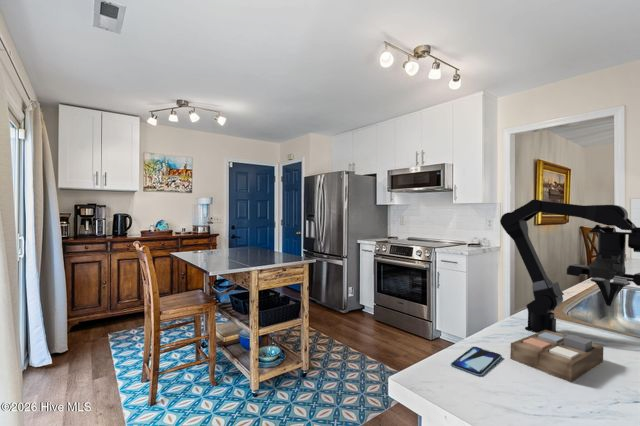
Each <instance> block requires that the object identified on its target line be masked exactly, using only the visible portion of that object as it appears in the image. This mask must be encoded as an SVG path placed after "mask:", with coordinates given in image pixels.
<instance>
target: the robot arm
mask: <svg viewBox="0 0 640 426" xmlns="http://www.w3.org/2000/svg"><path fill="white" fill-rule="evenodd" d="M540 213H545V214H553V215H558V216H559V215H560V216H565V217H566V216H567V217H573V218H581V219H584V220H588V221H591V222H594V223H597V224H595V226H593V227H592V228H591V229H589V233H594V234H597V235H598V237H597V252H596V253H595V259H594V260H592V261H591V262H590V264H589V265H585V264H577V263H576V264H569V265H568V266H567V267H566V275H568V276H574V277H575V276H576V277H580V276H582V275H587V276H589V277H591V278H590V281H591V282H593V283H595V284H596V285H597V287H598V288H599V290H600V292H601V295H602V297H603V300H604V302H605V305H606V306H607V307H612V306H613V304H614V303H615V300H616V299H617V297H618V295H619V294H620V292H621V290H623V288H624V287H627V286H630V285H631V282H632V283H633V284H635V285H636V286H637V287H638V286H639V287H640V272H637V273H634V274H631V273H630V274H629V273H626V272H627V271H626V258H627V254H626V244H627V246H628V248H630V249H633V252H634V253H640V227H638V226H636V225H635V223H633V222H632V220H630V218H629V213H628V210H627V209H626V208H625V207H623V206H622V205H616V204H592V205H581V204H572V203H565V202H564V203H563V202H562V203H561V202H554V201H546V200H542V199H531V200H529V202H527V203H525V204H524V205H522V206H520V207H518V208H515V209H514V210H512V211H511V212H510V211H509V212H505V213H503V214H502V215H501V217H500V219H499V222H500V225H501V227H502V228H503V230H504V231H505V233H506V234H507V235H508V236H509V237H510V238H511V239H512V240H513V242H514V244H515V247H516V249H517V251H518V253H519V255H520V257H521V259H522V261H523V264H524V266H525V268H526V271H527V273H528V275H529V278H530V280H531V283H532V293H533V298H534V300H532V301H530V302H529V303H527V304H526V309H527V326H525V327H524V329H525V330H528V331H532V332H534V333H538V332H541V331H544V330H548V331H552V332H555V333H557V319H556V318H555V315H556V314H555V312H553V311H555V310H556V308H558V307H560V306H561V305H562V303H563V302H564V298H563V297H564V295H565V293H564V292H563V291H562V290H561V287H560V284H559V282H558V281H555V282H554V283H553V282H552V280H551V279H550V278H549V277H548V275H547V273H546V271H545V269H544V266H543V264H542V262H541V261H540V257H539V256H538V254H537V251H536V249H535V246H533V243H532V240H531V239H530V236H529V226H528V223H527V222H528V221H530V220H532V219H533V218H534V217H536V215H538V214H540ZM600 224H601V225H605V226H610V227H605V226H601V225H600ZM612 226H614V227H612ZM616 228H618V229H620V231H617V229H616ZM621 230H622V231H621ZM624 231H625V232H624ZM626 231H628V232H626ZM629 231H630V232H629ZM627 235H628V237H627ZM626 239H627V240H626ZM626 241H627V243H626ZM612 280H613V281H612Z"/></svg>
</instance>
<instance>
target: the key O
mask: <svg viewBox="0 0 640 426" xmlns="http://www.w3.org/2000/svg"><path fill="white" fill-rule="evenodd" d="M565 336H566V337H564V346H568V347H571V348H574V349H577V350H580V351H584V352H589V351H590V350H592V343H593V339H589V338H585V337H582V336H579V335H576V334H569V335H565Z"/></svg>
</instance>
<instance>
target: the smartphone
mask: <svg viewBox="0 0 640 426" xmlns="http://www.w3.org/2000/svg"><path fill="white" fill-rule="evenodd" d="M502 356H503V355H501V354H500V353H498V352H494V351H491V350H489V349H484V348H482V347H479V346H471V347H470V348H469V349H467V350H466V351H465V352H463V353H462V354H461V355H459V356H458V357H457V358H456V359H454V360H453V361H452V362H450V366H451V368H455V369H458V370H460V371H462V372H465V373H468V374H470V375H473V376H476V377H480V378H481V377H483V376H485V374H486V373H487V372H489V370H491V369H492V368H493V367H494V366H495V365H496V364H498V362H500V361H501V360H502V358H503V357H502Z"/></svg>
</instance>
